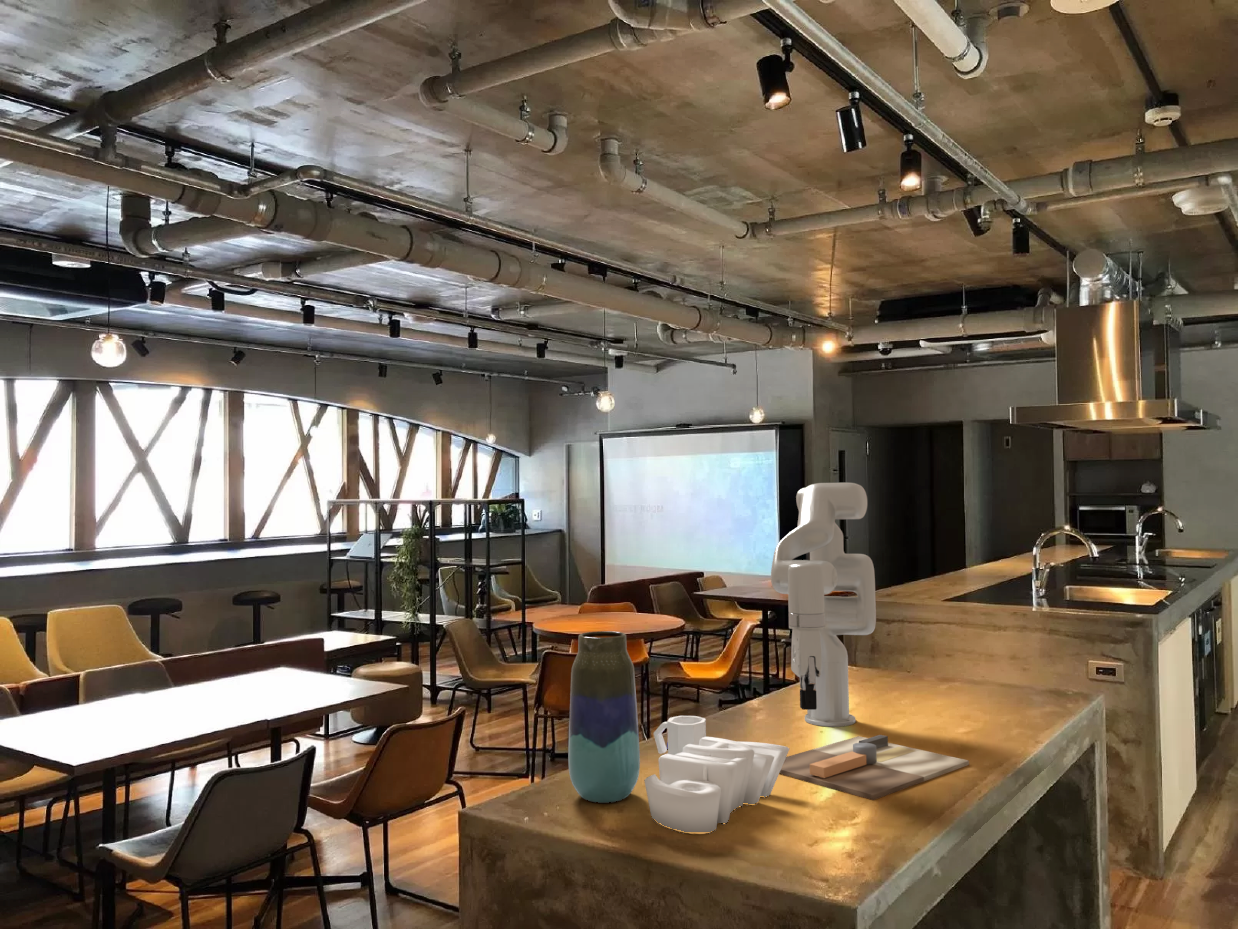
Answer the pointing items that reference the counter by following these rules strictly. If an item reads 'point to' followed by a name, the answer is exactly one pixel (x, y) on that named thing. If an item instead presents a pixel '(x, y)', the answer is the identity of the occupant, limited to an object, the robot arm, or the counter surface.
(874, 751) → the bar
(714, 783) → the wavy white extrusion
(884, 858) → the counter surface
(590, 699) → the vase
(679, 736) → the mug
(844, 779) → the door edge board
